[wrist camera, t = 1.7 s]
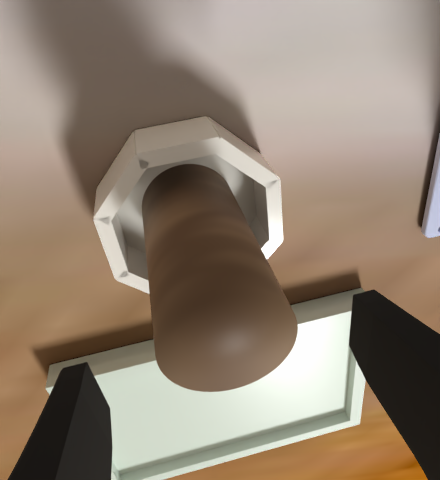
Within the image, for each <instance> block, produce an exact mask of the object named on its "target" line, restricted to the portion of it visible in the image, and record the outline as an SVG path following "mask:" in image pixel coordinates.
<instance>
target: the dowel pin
mask: <svg viewBox="0 0 440 480" xmlns="http://www.w3.org/2000/svg"><path fill="white" fill-rule="evenodd" d="M142 217H143V228H144V239H145V249H146V260H147V271H148V282H149V292H150V303H151V314H152V325H153V335H154V346H155V357H156V361H157V364H158V366H159V369H160V370H161V372H162V373H163V374H164V375H165V376H166V377H167V378H168V379H169V380H170V381H172V382H173V383H175V384H177V385H179V386H181V387H183V388H186V389H190V390H194V391H201V392H220V391H227V390H232V389H236V388H240V387H243V386H246V385H248V384H251V383H253V382H255V381H257V380H259V379H261V378H263V377H264V376H266V375H268V374H269V373H270V372H272V371H273V370H274V369H276V368H277V367H278V366H279V365H280V364H281V363H282V362H283V361H284V360H285V359H286V357H287V356H288V355H289V353H290V352H291V350H292V348H293V346H294V344H295V341H296V338H297V333H298V324H297V319H296V316H295V314H294V312H293V310H292V308H291V306H290V304H289V302H288V300H287V298H286V296H285V294H284V292H283V290H282V288H281V286H280V284H279V282H278V281H277V279H276V277H275V275H274V273H273V271H272V269H271V267H270V265H269V263H268V261H267V259H266V257H265V255H264V253H263V251H262V249H261V247H260V245H259V244H258V242H257V240H256V238H255V236H254V234H253V232H252V230H251V228H250V226H249V224H248V222H247V220H246V218H245V216H244V214H243V212H242V210H241V208H240V206H239V205H238V203H237V201H236V199H235V197H234V195H233V193H232V191H231V189H230V187H229V185H228V183H227V182H226V180H225V179H224V178H223V177H222V176H221V175H220V174H219V173H217V172H216V171H215V170H213V169H211V168H209V167H206V166H203V165H198V164H183V165H178V166H174V167H171V168H169V169H167V170H165V171H163V172H162V173H160V174H159V175H158V176H156V177H155V178H154V179H153V180H152V182H151V183H150V184H149V186H148V187H147V189H146V191H145V193H144V196H143V200H142Z"/></svg>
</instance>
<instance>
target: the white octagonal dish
mask: <svg viewBox="0 0 440 480" xmlns="http://www.w3.org/2000/svg"><path fill="white" fill-rule="evenodd" d="M183 164H198V165H203V166H206V167H209V168H211V169H213V170H215V171H216V172H217V173H219V174H220V175H221V176H222V177H223V178H224V179H225V180H226V182H227V183H228V185H229V187H230V189H231V191H232V193H233V195H234V197H235V199H236V201H237V203H238V205H239V206H240V208H241V210H242V212H243V214H244V216H245V218H246V220H247V222H248V224H249V226H250V228H251V230H252V232H253V234H254V236H255V238H256V240H257V242H258V244H259V245H260V247H261V249H262V251H263V253H264V255H265V257H266V259H268V258H269V257H270V255H271V254H272V253H273V252H274V251H275V250H276V249H277V248H278V246H279V245H280V244H281V243H282V241H283V224H282V203H281V182H280V178H279V176H278V175H277V174H276V173H275V171H274V170H273V169H272V167H271V166H270V165H269V164H268V162H267V161H266V160H265V159H264V157H263V156H262V155H261V154H260V153H259V152H258V151H256V150H255V149H253V148H252V147H250V146H249V145H248V144H246V143H245V142H243V141H242V140H241V139H239V138H238V137H236V136H235V135H234V134H232V133H231V132H229V131H228V130H227V129H225V128H224V127H222V126H221V125H220V124H218V123H217V122H215V121H214V120H212V119H211V118H210V117H207V116H204V117H199V118H194V119H189V120H183V121H178V122H173V123H168V124H163V125H158V126H153V127H148V128H143V129H138V130H135V132H132V133H131V135H130V137H129V138H128V140H127V141H126V143H125V144H124V146H123V148H122V149H121V151H120V152H119V154H118V155H117V157H116V159H115V160H114V162H113V163H112V165H111V166H110V168H109V170H108V171H107V173H106V174H105V176H104V177H103V179H102V181H101V182H100V184H99V185H98V187H97V189H96V198H95V208H94V217H93V221H94V223H95V226H96V229H97V231H98V234H99V237H100V240H101V242H102V245H103V248H104V250H105V253H106V256H107V259H108V261H109V264H110V267H111V269H112V272H113V275H114V278H115V279H116V280H117V281H119V282H122V283H124V284H126V285H129V286H131V287H134V288H136V289H139V290H141V291H143V292H146V293H148V294H150V292H149V282H148V271H147V260H146V249H145V239H144V228H143V217H142V200H143V196H144V193H145V191H146V189H147V187H148V186H149V184H150V183H151V182H152V180H153V179H154V178H155V177H156V176H158V175H159V174H160V173H162V172H163V171H165V170H167V169H169V168H171V167H174V166H178V165H183Z"/></svg>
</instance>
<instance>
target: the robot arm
mask: <svg viewBox="0 0 440 480" xmlns="http://www.w3.org/2000/svg"><path fill="white" fill-rule="evenodd" d="M421 232H422V233H423V234H424V235H425V236H426V237H428V238H432V237H436V236H440V135H439V140H438V145H437V150H436V155H435V161H434V166H433V171H432V176H431V181H430V187H429V192H428V197H427V202H426V207H425V213H424V218H423V223H422V228H421ZM349 347H350V349H351V351H352V353H353V355H354V357H355V359H356V361H357V363H358V365H359V367H360V369H361V371H362V373H363V375H364V377H365V379H366V381H367V383H368V384H369V386H370V387H371V389H372V390H373V392H374V394H375V395H376V397H377V398H378V400H379V402H380V403H381V405H382V406H383V408H384V409H385V411H386V412H387V414H388V416H389V417H390V419H391V420H392V422H393V423H394V425H395V426H396V428H397V429H398V431H399V433H400V434H401V436H402V437H403V439H404V440H405V442H406V443H407V445H408V447H409V448H410V450H411V451H412V453H413V454H414V456H415V458H416V459H417V461H418V463H419V464H420V466H421V468H422V469H423V471H424V473H425V475H426V477H427V478H428V480H440V334H439V333H437V332H435V331H434V330H432V329H431V328H429V327H428V326H426V325H425V324H423V323H422V322H420V321H419V320H418V319H416V318H415V317H413V316H412V315H410V314H409V313H407V312H406V311H404V310H403V309H402V308H400V307H399V306H397V305H396V304H394V303H393V302H391V301H390V300H388V299H387V298H386V297H384V296H383V295H381V294H380V293H378V292H377V291H375V290H370V291H366V292H362V293H358V294H354V295H353V300H352V312H351V324H350V336H349ZM111 469H112V429H111V414H110V407H109V405H108V403H107V401H106V399H105V397H104V395H103V393H102V391H101V389H100V387H99V385H98V383H97V381H96V379H95V377H94V375H93V373H92V371H91V369H90V367H89V365H88V363H87V362H84V363H80V364H77V365H73V366H69V367H65V368H63V369H62V370H61V371H60V373H59V375H58V378H57V380H56V382H55V385H54V387H53V389H52V391H51V393H50V396H49V398H48V400H47V402H46V404H45V407H44V409H43V411H42V413H41V415H40V417H39V419H38V422H37V424H36V426H35V428H34V430H33V432H32V434H31V436H30V438H29V440H28V442H27V444H26V446H25V448H24V450H23V452H22V454H21V456H20V458H19V460H18V462H17V464H16V465H15V467H14V469H13V471H12V473H11V475H10V476H9V478H8V480H111Z"/></svg>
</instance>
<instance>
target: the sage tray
mask: <svg viewBox="0 0 440 480" xmlns="http://www.w3.org/2000/svg"><path fill="white" fill-rule="evenodd" d="M362 292H365V291H364V290H363V289H362V288H358V289H354V290H350V291H346V292H342V293H338V294H334V295H330V296H326V297H322V298H318V299H314V300H310V301H306V302H302V303H298V304H294V305H290V306H291V308H292V310H293V312H294V314H295V316H296V319H297V324H298V333H297V338H296V341H295V344H294V346H293V348H292V350H291V352H290V353H289V355H288V356H287V357H286V359H285V360H284V361H283V362H282V363H281V364H280V365H279V366H278V367H277V368H276V369H274V370H273V371H272V372H270V373H269V374H268V375H266V376H264V377H263V378H261V379H259V380H257V381H255V382H253V383H251V384H248V385H246V386H243V387H240V388H236V389H232V390H227V391H220V392H201V391H194V390H190V389H186V388H183V387H181V386H179V385H177V384H175V383H173V382H172V381H170V380H169V379H168V378H167V377H166V376H165V375H164V374H163V373H162V372H161V370H160V369H159V366H158V364H157V361H156V357H155V346H154V339H152V340H148V341H144V342H140V343H136V344H132V345H128V346H124V347H120V348H116V349H112V350H108V351H104V352H100V353H96V354H92V355H88V356H84V357H80V358H76V359H72V360H68V361H64V362H60V363H55V364H51V365H50V366H49V372H48V377H47V383H46V390H47V391H48V393H49V395H50V393H51V391H52V389H53V387H54V385H55V382H56V380H57V378H58V375H59V373H60V371H61V370H62V369H63V368H65V367H69V366H73V365H77V364H80V363H84V362H87V363H88V365H89V367H90V369H91V371H92V373H93V375H94V377H95V379H96V381H97V383H98V385H99V387H100V389H101V391H102V393H103V395H104V397H105V399H106V401H107V403H108V405H109V407H110V414H111V429H112V469H111V480H163V479H167V478H170V477H174V476H177V475H181V474H184V473H188V472H191V471H195V470H199V469H202V468H206V467H209V466H213V465H216V464H220V463H223V462H227V461H230V460H234V459H238V458H241V457H245V456H248V455H252V454H255V453H259V452H262V451H266V450H269V449H273V448H276V447H280V446H284V445H287V444H291V443H294V442H298V441H301V440H305V439H308V438H312V437H315V436H319V435H323V434H326V433H330V432H333V431H337V430H340V429H344V428H347V427H351V426H354V425H358V424H360V418H361V410H362V403H363V395H364V387H365V377H364V375H363V373H362V371H361V369H360V367H359V365H358V363H357V361H356V359H355V357H354V355H353V353H352V351H351V349H350V347H349V336H350V324H351V312H352V300H353V295H354V294H358V293H362Z"/></svg>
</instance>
